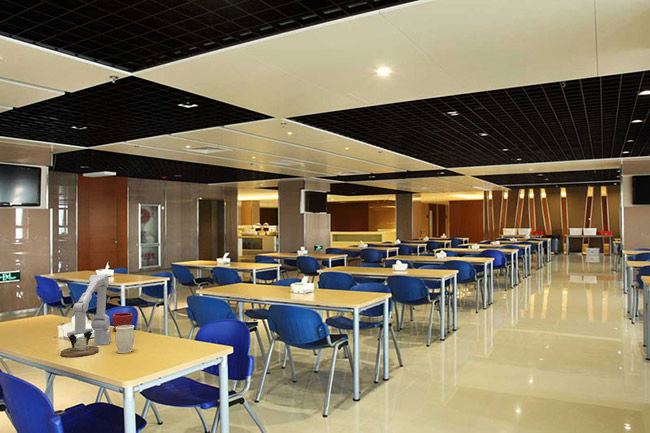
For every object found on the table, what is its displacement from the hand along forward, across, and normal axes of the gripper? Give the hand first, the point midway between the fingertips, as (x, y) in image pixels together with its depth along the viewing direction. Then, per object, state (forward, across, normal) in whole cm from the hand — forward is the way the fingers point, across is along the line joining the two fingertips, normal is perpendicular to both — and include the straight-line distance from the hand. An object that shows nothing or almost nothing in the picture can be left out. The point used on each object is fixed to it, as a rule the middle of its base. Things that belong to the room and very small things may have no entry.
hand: (80, 346), depth 286 cm
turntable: (+4, 0, 0) cm, 4 cm away
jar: (+4, -16, +20) cm, 26 cm away
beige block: (+2, +1, +1) cm, 2 cm away
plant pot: (+4, -51, -34) cm, 62 cm away
